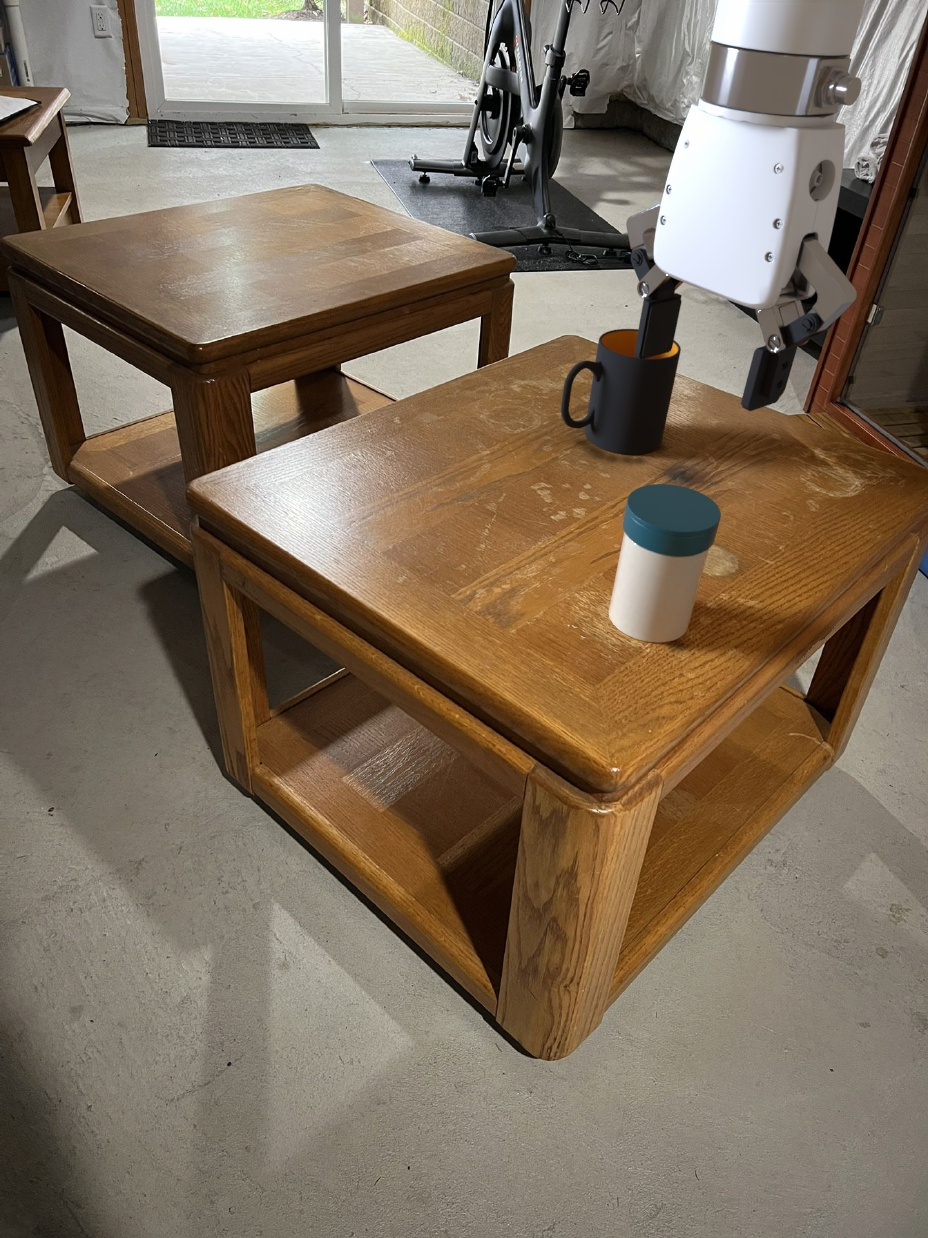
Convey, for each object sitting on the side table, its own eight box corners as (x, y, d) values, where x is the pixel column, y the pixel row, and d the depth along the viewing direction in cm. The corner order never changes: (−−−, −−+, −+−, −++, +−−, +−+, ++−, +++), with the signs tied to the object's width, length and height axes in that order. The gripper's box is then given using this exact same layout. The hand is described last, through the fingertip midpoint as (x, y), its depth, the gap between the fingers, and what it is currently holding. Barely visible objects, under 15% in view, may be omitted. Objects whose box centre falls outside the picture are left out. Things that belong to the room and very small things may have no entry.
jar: (651, 586, 78) (675, 483, 72) (705, 628, 74) (734, 522, 68) (592, 607, 75) (611, 502, 69) (644, 652, 71) (669, 544, 65)
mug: (541, 426, 101) (552, 333, 95) (639, 416, 105) (656, 325, 98) (572, 462, 95) (587, 365, 89) (675, 450, 99) (696, 356, 92)
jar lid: (671, 499, 74) (677, 475, 72) (734, 541, 69) (741, 517, 68) (603, 520, 70) (608, 496, 69) (665, 565, 66) (670, 541, 65)
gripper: (949, 110, 49) (846, 416, 59) (697, 60, 59) (648, 327, 70) (867, 118, 45) (772, 443, 55) (613, 63, 55) (574, 345, 66)
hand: (703, 378), depth 62 cm, fingers open, 9 cm apart
